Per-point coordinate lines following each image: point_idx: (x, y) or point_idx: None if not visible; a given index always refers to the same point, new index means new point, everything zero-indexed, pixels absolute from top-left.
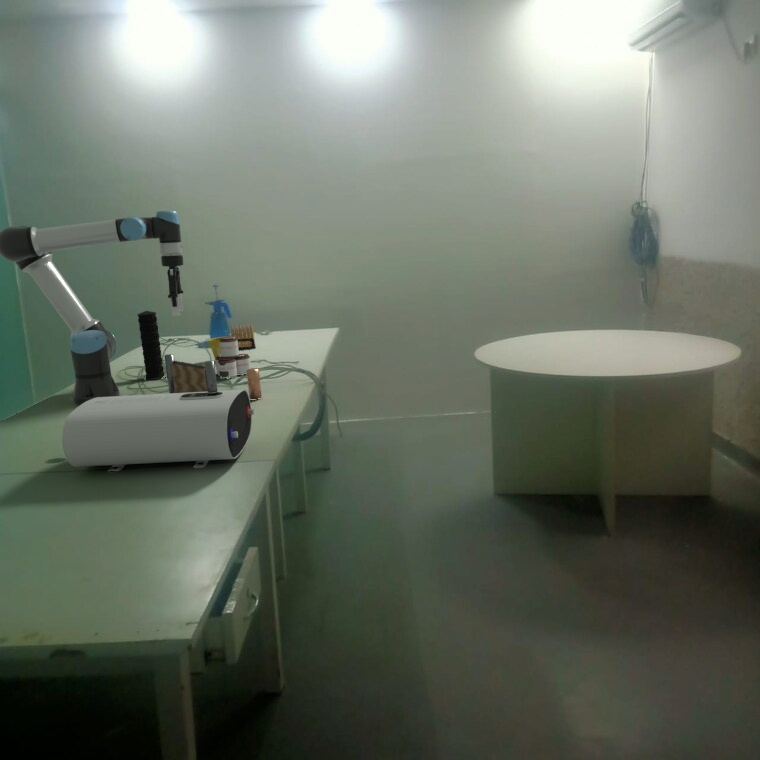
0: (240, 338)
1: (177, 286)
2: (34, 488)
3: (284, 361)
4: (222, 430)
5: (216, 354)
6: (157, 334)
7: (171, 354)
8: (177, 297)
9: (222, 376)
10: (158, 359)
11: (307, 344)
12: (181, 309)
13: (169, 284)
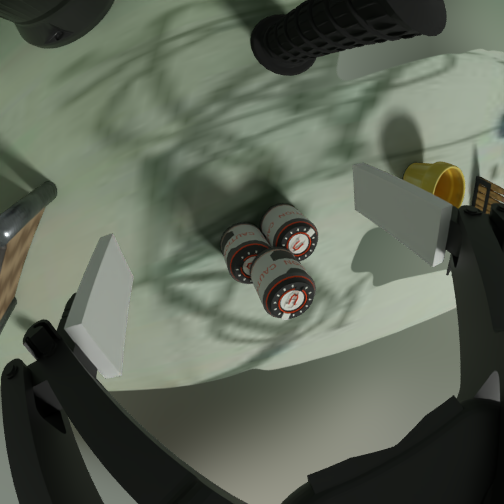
0: (489, 200)
1: (464, 303)
2: None
3: (358, 303)
4: None
5: (415, 174)
6: (352, 41)
7: (4, 238)
8: (105, 374)
9: (223, 238)
10: (296, 50)
11: (452, 289)
12: (361, 205)
13: (15, 470)
